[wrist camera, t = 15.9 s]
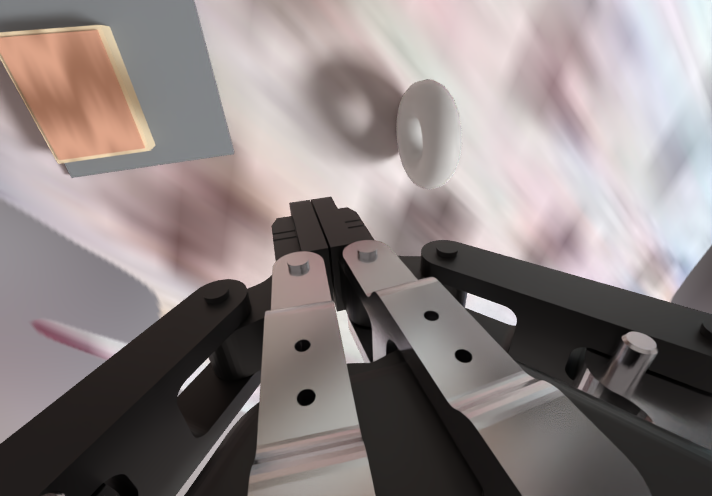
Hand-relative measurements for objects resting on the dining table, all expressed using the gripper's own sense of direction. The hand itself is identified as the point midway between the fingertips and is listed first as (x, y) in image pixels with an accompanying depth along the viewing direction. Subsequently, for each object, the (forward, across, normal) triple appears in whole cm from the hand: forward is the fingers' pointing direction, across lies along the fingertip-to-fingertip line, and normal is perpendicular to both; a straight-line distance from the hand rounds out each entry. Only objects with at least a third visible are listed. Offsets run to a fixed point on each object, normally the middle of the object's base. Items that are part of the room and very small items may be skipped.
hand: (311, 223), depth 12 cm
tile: (+22, +11, -3) cm, 25 cm away
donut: (+24, -14, +3) cm, 28 cm away
